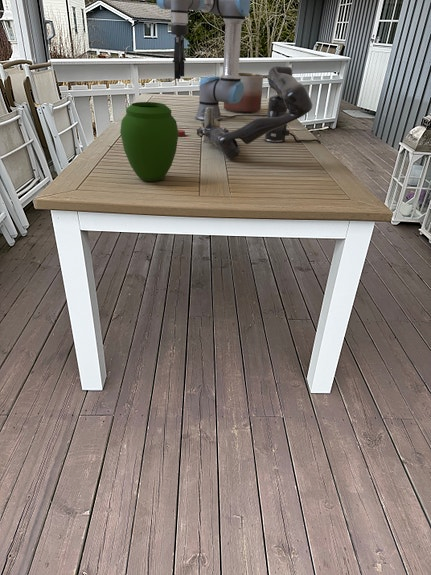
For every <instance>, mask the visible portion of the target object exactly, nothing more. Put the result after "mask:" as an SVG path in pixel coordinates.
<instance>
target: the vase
mask: <svg viewBox="0 0 431 575" xmlns="http://www.w3.org/2000/svg"><path fill="white" fill-rule="evenodd" d="M125 113H126V114H125V115H124V117H122V119H121V122H120V123H121V124H120V130H119V133H120V138H121V142H122V147H123V150H124V154H125V155H126V158H127V160H128V163H129V165H130V167H131V168H132V170H133V172H134V173H135V175H136V176H137V177H138V178H139V179H141V180H143V181H145V182H159V181H161V180H163V179H164V178H165V176H166V175H167V174H168V173H169V170H170V169H171V167H172V165H173V162H174V159H175V157H176V156H175V155H176V153H177V147H178V140H179V136H178V134H179V133H178V130H179V129H178V122H177V120H176V119H175V117H174V116H173V115H172V109H171V108H170V107H169V106H167V105H166V104H164V103H162V102H155V101H138V102H132V103H131V104H130V105H128V107H127V108H125Z"/></svg>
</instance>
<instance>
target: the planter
mask: <svg viewBox="0 0 431 575" xmlns="http://www.w3.org/2000/svg"><path fill="white" fill-rule="evenodd" d="M238 74H239V76H240V77H241V82H242V83H243V84H244V93H243V96H242V98H241V100H240V101H239V102H238V103H236V104H234V103H231V104H230V103H226V102H223V108H224V109H225V110H226V111H228V112H232V113H238V114H255V113H259V111H260V110H261V108H262V97H263V83H264V75H263V74H260V73H259V74H258V73H253V72H251V73H250V72H238Z"/></svg>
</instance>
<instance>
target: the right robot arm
mask: <svg viewBox="0 0 431 575" xmlns="http://www.w3.org/2000/svg"><path fill="white" fill-rule="evenodd" d="M267 82H268V86H269V87H270V88H271V89H273V90H274V92H276V94H273V95H271V96H270V97H269V99H268V107H267V114H266V115H267V116H262V117H257V118H254V119H253V120H251V121H249V122H248V123H246V124H245V125H243V126H242V127H240V128H239V127H238V128H237V129H234V130H231V131H230V130H228V129H227V128H226V127H225V128H222V127H221V126H220V127H218V126H215V127H212V128H211V129H207V128H205V129H204V128H203V127H199V128H197V129H196V135H197V136H198V137H199V138H204V136H205V137H208V139H209V141H210V142H211V143H210V144H212V145H213V146H215V147H217V148H218V149H219V150H220V151H221V153H222V154H223V156H224V157H225V158H226V159H228V160H234V159H236V158H238V157H239V155H240V154H241V146H240V145H239V143H238V141H237V140H239V139H240V140H241V141H242V142H243V143H244V144H245V145H249V144H252V143H253V142H254V141H256V140H258V139H260V138H261V137H262V136H264V141H266V142H268V143H269V142H270V143H283V142H285V141H286V137H289V136H292V138H293V139H294V141H295V142H297V143H300V142H305V143H310V142H311V143H312V142H317V143H319V144H322V141H320V140H319V139H314V138H313V139H297V138H296V135H295V134H293V133H292V132H290V130H289V129H287V126H288V124H289V123H292V122H293V121H296V120H299V119H301V118H302V117H304V116H305V115H307V114H308V113H309V112H310V111H311V110H312V108H313V102H312V99H311V97H310V95H309V92H308V91H307V88H306V87H305V85H304V84H302V83H301V82H298V80H297V79H296V78H295V77H294V76H293V69H292V67H291V66H284V65H283V66H282V65H281V66H279V65H274V66H272V67H271V68H270V69H269V71H268V74H267ZM288 112H289V113H288ZM207 130H208V131H207Z"/></svg>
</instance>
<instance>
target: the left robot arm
mask: <svg viewBox="0 0 431 575" xmlns="http://www.w3.org/2000/svg"><path fill="white" fill-rule="evenodd" d="M156 4H157V7H159V9H160V10H165V11H166V10H170V14H169V18H170V23H171V25H170V34H171V35H175V37H174V48H173V59H172V63H173V65H174V67H173V70H174V71H173V72H174V75H173V76H174V80H181V77H185V62H186V61H187V59H186V56H185V55H186V54H185V37H184V36H188V34H189V26H188V24H189V11H194V12H195V11H196V12H197V11H201V12H203V13H208V14H211V15H217V16H222V20H223V21H224V22H225V26H224V28H225V29H224V46H223V47H224V49H223V51H224V53H223V70H222V74H221V76H206V77H201V78H200V80H199V86H198V87H199V94H198V95H199V99H198V101H199V103H198V104H199V105H198V107H197V111H196V114H195V119H196V120H199V121H202V122H204V116H205V109H206V107H214V112H215V118H216V119H217V121H221V120H222V118H236V117H267V115H268V114H249V113H242V114H234V115H223V114H221V110H220V107H219V105H220V103H224V102H226V103H230V104H231V103H234V104H236V103H238V102H239V101H240V100H241V98H242V96H243V93H244V84H243V83H242V82H241V77H240V76H239V74H238V73H240V71H239V70H240V68H239V67H240V55H241V41H242V40H241V38H242V27H243V26H242V25H243V23H244V22H245V20H246V17H247V16H248V15H249V14H250V11H251V0H156ZM287 113H289V111H287Z"/></svg>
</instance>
